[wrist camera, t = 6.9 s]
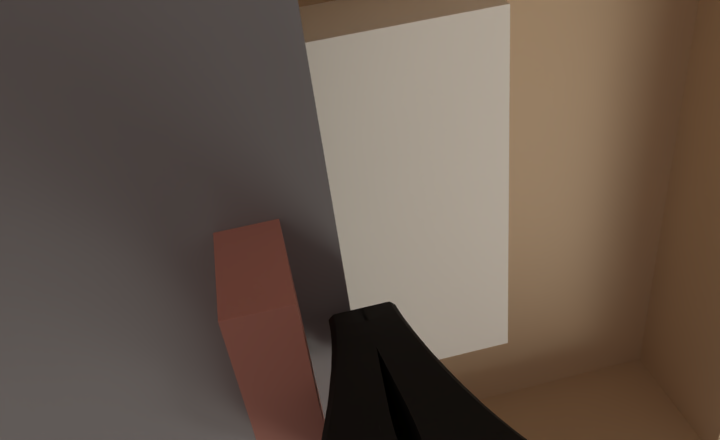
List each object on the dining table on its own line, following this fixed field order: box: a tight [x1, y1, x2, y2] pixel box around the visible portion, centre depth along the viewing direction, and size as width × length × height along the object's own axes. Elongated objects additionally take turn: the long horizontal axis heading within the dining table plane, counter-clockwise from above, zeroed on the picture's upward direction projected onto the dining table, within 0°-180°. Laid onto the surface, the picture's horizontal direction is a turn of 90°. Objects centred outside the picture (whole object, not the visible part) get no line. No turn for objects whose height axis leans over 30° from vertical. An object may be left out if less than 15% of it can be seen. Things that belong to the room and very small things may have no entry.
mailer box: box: [298, 0, 720, 440], centre depth 17 cm, size 22×18×5 cm
